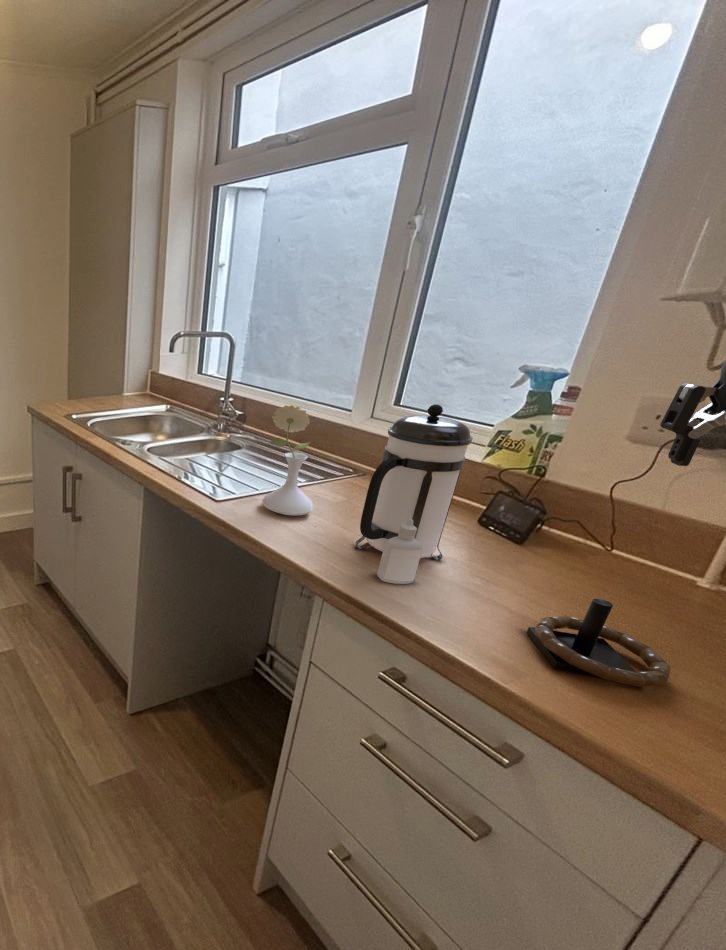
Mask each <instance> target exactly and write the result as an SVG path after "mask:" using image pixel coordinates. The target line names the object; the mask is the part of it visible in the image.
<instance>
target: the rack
mask: <svg viewBox="0 0 726 950" xmlns="http://www.w3.org/2000/svg"><path fill="white" fill-rule="evenodd" d="M613 606H614V604H613V603H612V602H610V601H608V600H606V599H603V598H602V599H601V598H593V599H592V600H591V602H590V605H589V607H588V609H587V611H586V614H585V616H584V618H583V623H582V625H581V627H580V629H579V631H577V634H576V633H573V632H565V631H558V630H553V634H554V635H555V636H556V638H557V639H558V640H559V641H560V642H562V643H563V644H565V645H566V646H568V647H569V648H571V649H572V650H574V651H576V652H577V653H579V654H581V655H583V656H585V657H588V658H590V659H593V660H595V661H597V662H600V663H602V664H605V665H607V666H610V667H615V668H619V669H624V670H628V671H632V672H636V671H635V669H634V668H633V667H632V666H631V665H630V664H629V662H627V661H626V660H625V659H624V658H623V657H622V656H621V654H619V653H618V652H617V651H616V650H615V648H613V647H612V645H611V644H609V643H608V641H607V640H606V639H604V638H601V637H599V635H600V632H601V630H602V628H603V626H605V623H606V621H607V619H608V617H609V616H610V613H611V611H612V609H613ZM535 627H536V626H528V627H527V630H526V635H527V636H528V637H529V639H530V640H531V641H532V642H533V644H534V645H535V646H536V648H537V649H538V650H539V652H540V653H541V654H542V655H543V657H544V658H545V660H546V661H547V662H548V663H549V664H550V666H551V667H552V669H553V670H557V671H563V672H568V673H574V674H578V675H585V676H589V677H596V678H601V677H598V676H596V675H594V674H591V673H589V672H587V671H584V670H582V669H580V668H577V667H575V666H573V665H571V664H569V663H567V662H566V661H564V660H563V659H562V658H560V657H559V656H557V655H556V654H554V653H553V652H551V651H550V650H548V649H547V648H546V647H545V646H544V645H543V643H542V642H541V640H540V639H539V638H538V636H537V635H536V633H535ZM601 679H602V678H601Z"/></svg>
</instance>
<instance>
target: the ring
mask: <svg viewBox="0 0 726 950" xmlns="http://www.w3.org/2000/svg"><path fill="white" fill-rule="evenodd" d="M583 620H584V618H577V617H574V616H573V617H572V616H569V615H568V616H567V615H560V616H546V617H542V618H541V619H540V621H539V622H538V623H537V624H536V626H534V627H535V633H536V635H537V636H538V638H539V639H540V640H541V642H542V643H543V645H544V646H545V647H546V648H547V649H548V650H550V651H551V652H553V653H554V654H556V655H557V656H559V657H560V658H562V659H563V660H564V661H566V662H567V663H569V664H571V665H573V666H575V667H577V668H580V669H582V670H584V671H587V672H589V673H591V674H594V675H596V676H598V677H597V678H600V677H601V679H603V680H607V681H611V682H615V683H619V684H623V685H627V686H631V687H632V686H633V687H635V688H636V687H637V688H642V687H644V688H645V687H653V686H654V687H655V686H663V685H665V684H667V683H668V680H669V677H670V674H671V670H672V669H671V666H670V665H669V664H668V663H667V662H666V661H665V659H663V658H662V657H661V655H660V654H659V653H658V652H657V651H655V649H653V648H652V647H650V646H648V645H646V644H644V642H642V641H639V640H638V639H636V638H634V637H632V636H631V635H629V634H627V633H625V632H623V631H620V630H617V629H615V628H612V627H610V626H607V625H604V626H603V628H602V630H601V632H600V635H599V637H598V638H603V639H604V640H605V641H609V642H612V643H615V644H617V645H618V646H620V647H622V648H624V649H625V650H627V651H628V652H631V653H632V654H633V655H635V656H637V657H639V658H640V659H641V660H642V661H643V662H644V664H645V665H646V666H647V667H648V670H647V671H645V670H644V671H635V672H632V671H628V670H624V669H619V668H615V667H610V666H607V665H605V664H602V663H600V662H597V661H595V660H593V659H590V658H588V657H585V656H583V655H581V654H579V653H577V652H576V651H574V650H572V649H571V648H569V647H568V646H566V645H565V644H563V643H562V642H560V641H559V640H558V639H557V638H556V636H555V635H554V634H553V631H555V630H561V629H563V630H564V629H568V630H573V631H577V632H578V631H579V629H580V627H581V625H582V623H583Z"/></svg>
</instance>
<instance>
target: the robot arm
mask: <svg viewBox="0 0 726 950" xmlns="http://www.w3.org/2000/svg"><path fill="white" fill-rule="evenodd" d="M706 398H709V400H710V401H711V403H709V404H707V405H706V406H705V407H702V408H701V409H700V410H699V411H697V412H695V411H696V410H697V407H698V406H699V404H700V403H704V402H705V401H706ZM669 404H670V405H668V408H667V410H666V412H665V414H664V416H663V418H662V420H661V422H660V423H659V425H660V428H662V429H665V430H668V431H670V432H672V433H674V434H675V438H674V440H673V443H672V445H671V447H670V449H669V452H668V459H670V462H671V463H672V464H674V465H676V466H679V467H688V466H690V464H691V461H692V460H693V457H694V455H695V453H696V451H697V449H698V446H699V445H700V442H701V439H700V438H701V437H702V436H703V435H705V434H706V433H708V432H710V431H712V430H713V429H715V428H719V427H722V426H724V425H726V359H725V360H724V362H723V364H722V367H721V369H720V376H719V379H718V380H717V382H716V383H715V384H713V385H712V386H707V385H698V384H695V383H691V382H684V383H681V384H680V386H679V387H678V389H677V390H676V393H675V395H674V397H673V399H672V400H671V403H669Z"/></svg>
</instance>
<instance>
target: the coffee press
mask: <svg viewBox="0 0 726 950" xmlns="http://www.w3.org/2000/svg"><path fill="white" fill-rule="evenodd" d="M426 411H427V413H428V415H424V414H420V415H416V414H415V415H408V416H407V415H406V416H403V417H401V418H397V420H396V421H394V422H393V424H392V426H389V428H388V429H387V434H388V435H387V436H388V439H387V443H386V446H385V447H384V450H383V454H382V460H381V463H380V464H379V465H378V466H377V467H376V469H375V470H374V472H373V474H372V476H371V478H370V481H369V485H368V489H367V492H366V496H365V499H364V504H363V508H362V512H361V517H360V522H359V523H360V524H359V532H360V534H361V535H362V536H361V537H360V538H358V539H357V540H356V541H355V547H356V548H357V549H358V550H364V549H365V548H367V547H370V546H371V547H373V548H374V549H376V550H378V551H380V552H382V553H383V550H384V546H385V543H386V541H387V540H388V539H390V538H393V537H397V536H398V534H399V530H400V527H401V525H403V524H406V523H407V521H408V519H412V520H413V526H415V527H416V528H417V531H416V534H415V538H414V539H416V540H418V541H419V542H420V543H421V544H422V546H423V549H422V553H421V556H420V559H423V558H428V557H430V556H431V557H432V558H433V559H434V560H436V561H440V560H442V559H443V554H442V552H441V550H440V548H439V546H440V545H439V544H440V541H441V538H442V534H443V531H444V528H445V525H446V522H447V518H448V514H449V511H450V508H451V504H452V502H453V498H454V495H455V491H456V489H457V485H458V481H459V478H460V475H461V470H463V467H464V464H465V461H466V452H467V449H468V446H469V445H470V444H471V443H472V442H473V436H472V435H471V431H470V429H469V427H468V426H467V425H466V424H465V423H463V422H461V421H459V420H456V419H453V418H450V417H449V418H448V417H443V416H440V415H442V413H444V408H443V407H442V405H440V404H439V403H438V404H437V403H436V404H435V403H434V404H431V405H430V406H429V407H428V408H427V409H426ZM364 540H366V541H367V542H366V543H364V544H362V545H359V544H360V543H361V542H363V541H364ZM436 550H438V552H439V554H438V555H437V556H436V555H433V554H434V553H435V552H436Z"/></svg>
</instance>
